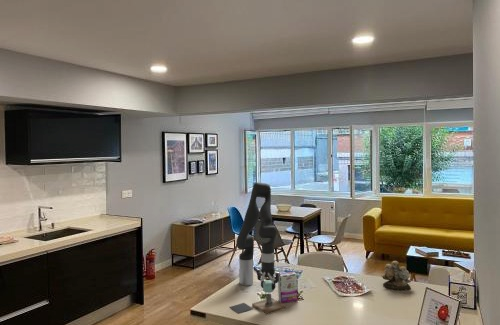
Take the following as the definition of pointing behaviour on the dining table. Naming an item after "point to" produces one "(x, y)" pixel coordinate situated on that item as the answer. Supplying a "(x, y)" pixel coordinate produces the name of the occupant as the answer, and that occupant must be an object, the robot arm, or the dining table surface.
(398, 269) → the owl figurine
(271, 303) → the post base
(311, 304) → the dining table surface
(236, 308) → the mat
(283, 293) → the candy bar box
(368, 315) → the dining table surface
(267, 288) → the cap
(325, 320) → the dining table surface
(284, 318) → the dining table surface
